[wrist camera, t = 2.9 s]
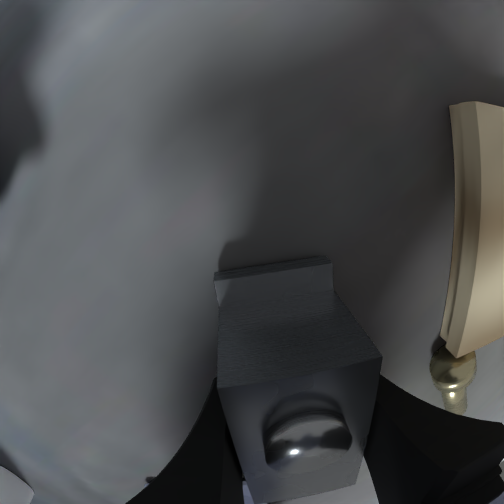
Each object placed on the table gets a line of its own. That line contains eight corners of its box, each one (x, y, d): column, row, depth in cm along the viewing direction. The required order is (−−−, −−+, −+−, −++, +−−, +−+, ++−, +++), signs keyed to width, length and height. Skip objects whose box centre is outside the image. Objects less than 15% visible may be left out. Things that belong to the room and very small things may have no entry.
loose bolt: (465, 388, 15) (484, 412, 12) (435, 411, 15) (452, 437, 13) (458, 334, 13) (485, 360, 11) (421, 362, 13) (445, 392, 11)
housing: (326, 419, 14) (355, 503, 9) (248, 433, 14) (258, 523, 8) (325, 255, 11) (398, 335, 6) (214, 272, 11) (206, 372, 6)
